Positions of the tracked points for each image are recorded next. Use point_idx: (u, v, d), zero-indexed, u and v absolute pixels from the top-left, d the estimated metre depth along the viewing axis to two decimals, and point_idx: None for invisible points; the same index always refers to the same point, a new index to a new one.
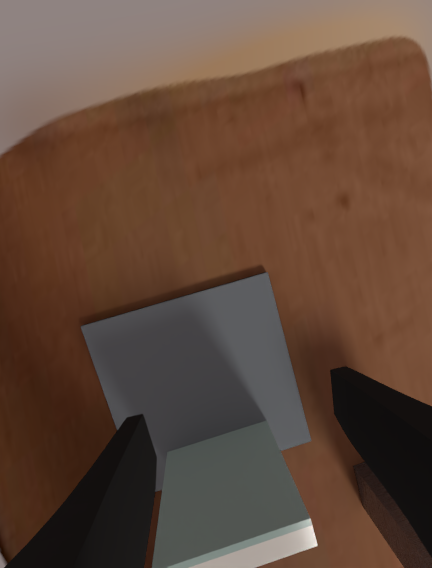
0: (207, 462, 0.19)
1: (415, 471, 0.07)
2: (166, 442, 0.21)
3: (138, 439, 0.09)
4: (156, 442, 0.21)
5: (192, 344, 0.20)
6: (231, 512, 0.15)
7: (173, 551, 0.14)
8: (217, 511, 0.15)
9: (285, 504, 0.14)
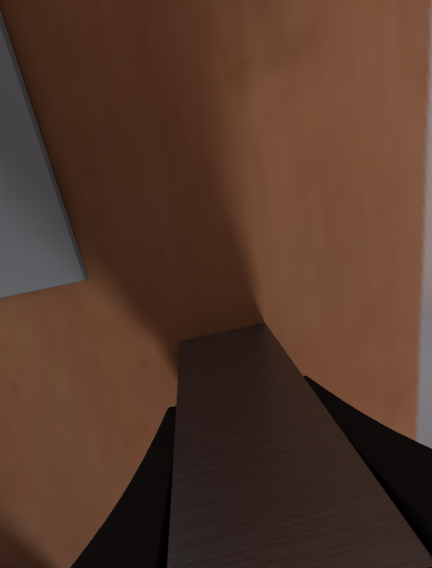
0: None
1: None
2: None
3: None
4: None
5: None
6: None
7: None
8: None
9: None
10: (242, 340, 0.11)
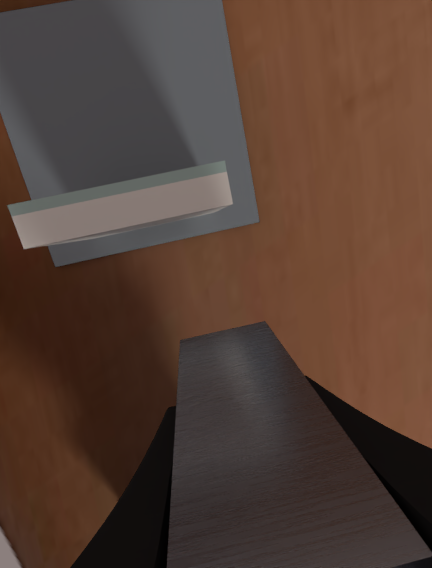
0: None
1: None
2: None
3: None
4: None
5: (118, 68, 0.16)
6: None
7: None
8: None
9: None
10: (242, 337, 0.12)
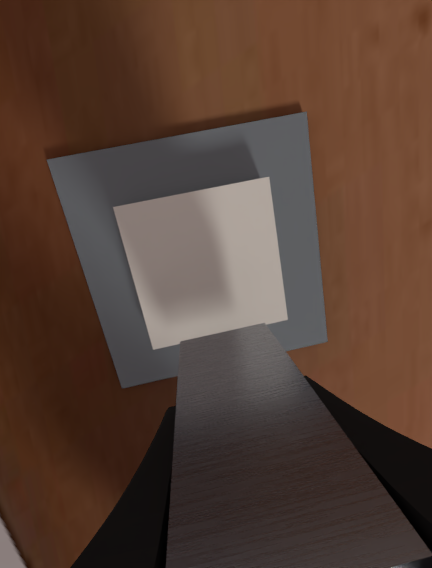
0: None
1: None
2: None
3: None
4: (144, 326, 0.17)
5: None
6: None
7: None
8: None
9: None
10: (241, 339, 0.12)
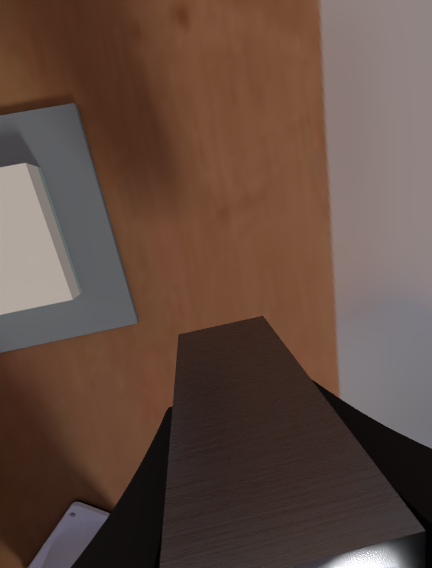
0: None
1: None
2: None
3: None
4: None
5: None
6: None
7: None
8: None
9: None
10: (239, 331, 0.12)
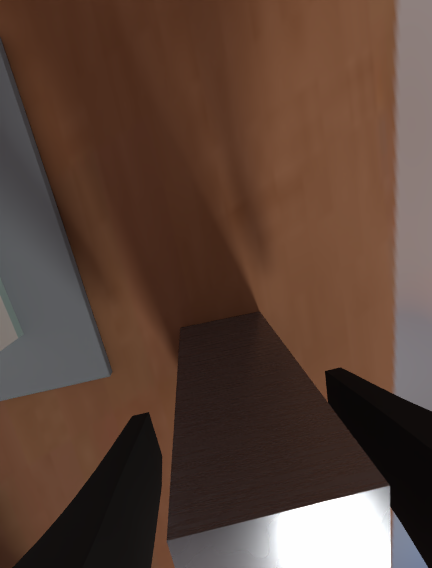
0: None
1: (407, 473, 0.07)
2: None
3: (144, 437, 0.09)
4: None
5: None
6: None
7: None
8: None
9: None
10: (238, 325, 0.12)
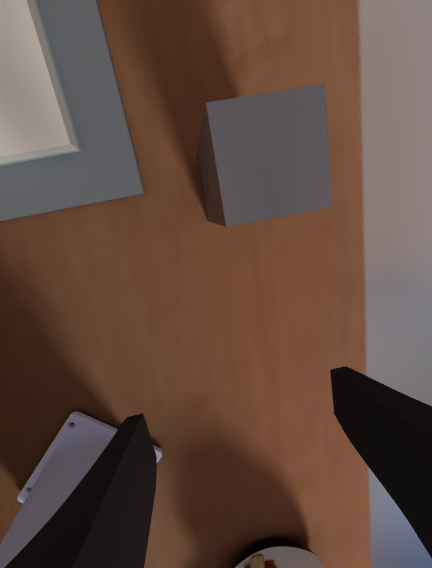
0: None
1: (415, 471, 0.07)
2: None
3: (138, 439, 0.09)
4: None
5: None
6: None
7: None
8: None
9: None
10: None
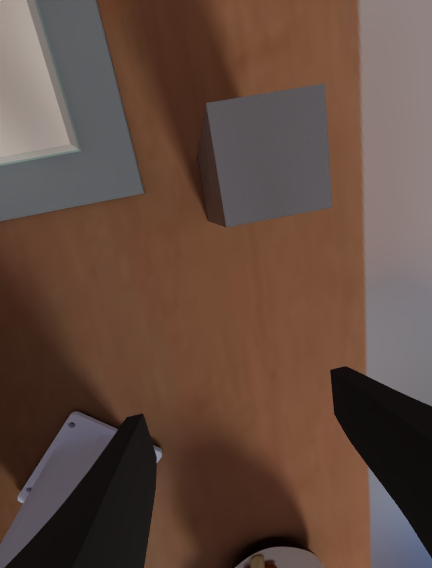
0: None
1: (415, 471, 0.07)
2: None
3: (138, 439, 0.09)
4: None
5: None
6: None
7: None
8: None
9: None
10: None
